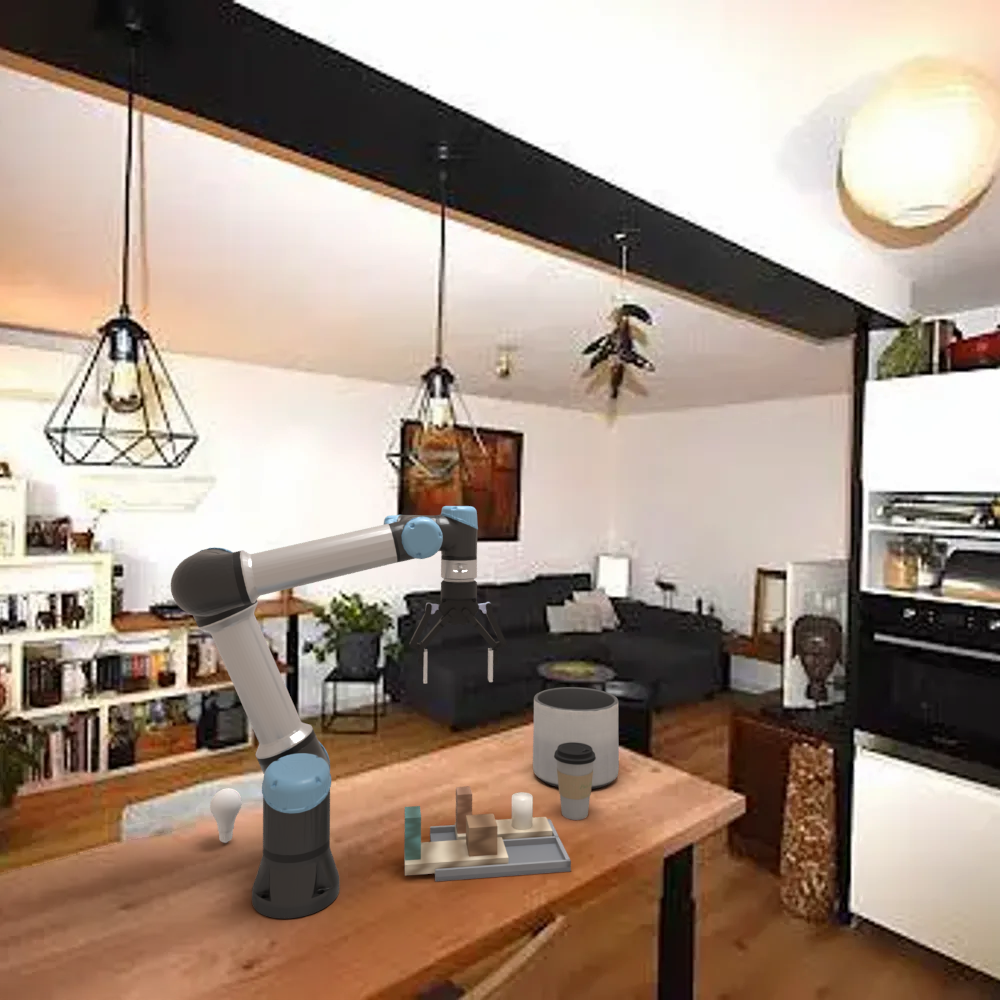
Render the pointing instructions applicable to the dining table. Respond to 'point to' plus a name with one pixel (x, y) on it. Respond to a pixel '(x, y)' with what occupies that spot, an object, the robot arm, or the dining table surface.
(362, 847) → the dining table surface
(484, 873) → the lane board
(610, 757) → the planter
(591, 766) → the coffee cup
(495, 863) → the strip
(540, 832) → the strip
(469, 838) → the walnut cube
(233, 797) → the lightbulb
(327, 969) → the dining table surface
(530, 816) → the stoneware cylinder
